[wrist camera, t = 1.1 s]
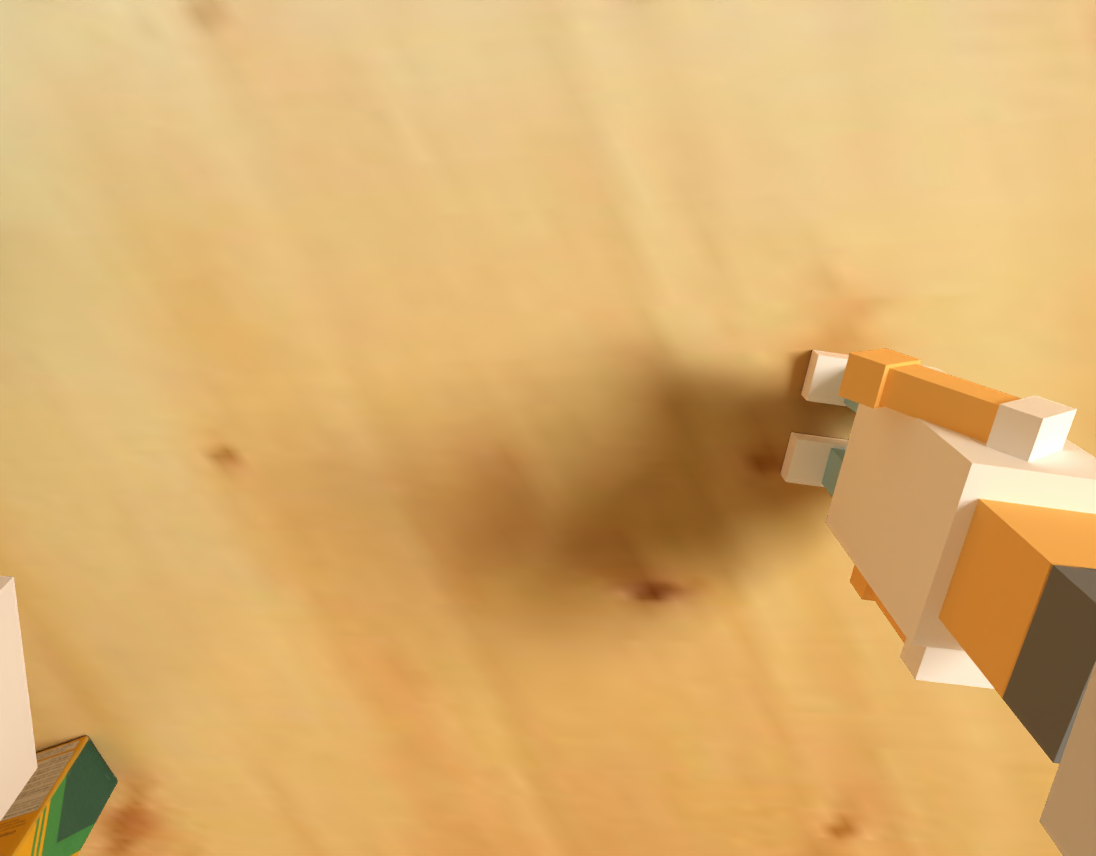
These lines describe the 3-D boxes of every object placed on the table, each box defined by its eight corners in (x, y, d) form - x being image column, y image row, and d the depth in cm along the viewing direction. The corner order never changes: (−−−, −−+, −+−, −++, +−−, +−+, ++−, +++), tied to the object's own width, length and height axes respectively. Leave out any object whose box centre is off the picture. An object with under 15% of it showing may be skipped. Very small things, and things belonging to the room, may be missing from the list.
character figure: (815, 554, 40) (1039, 906, 23) (721, 341, 36) (903, 567, 19) (991, 477, 39) (1363, 784, 22) (912, 251, 35) (1277, 405, 18)
